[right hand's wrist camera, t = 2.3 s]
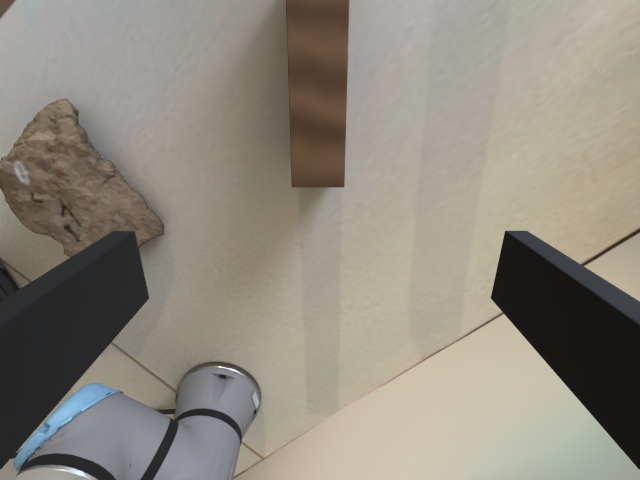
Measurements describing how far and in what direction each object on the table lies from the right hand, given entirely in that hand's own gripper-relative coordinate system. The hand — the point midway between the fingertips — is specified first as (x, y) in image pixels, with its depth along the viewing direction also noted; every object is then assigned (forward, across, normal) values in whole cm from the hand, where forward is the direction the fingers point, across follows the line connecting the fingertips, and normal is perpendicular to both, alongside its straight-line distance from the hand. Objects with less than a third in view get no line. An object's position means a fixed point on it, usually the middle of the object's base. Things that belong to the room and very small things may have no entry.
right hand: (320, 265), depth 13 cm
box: (+38, 0, -8) cm, 39 cm away
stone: (+38, +33, +7) cm, 51 cm away
